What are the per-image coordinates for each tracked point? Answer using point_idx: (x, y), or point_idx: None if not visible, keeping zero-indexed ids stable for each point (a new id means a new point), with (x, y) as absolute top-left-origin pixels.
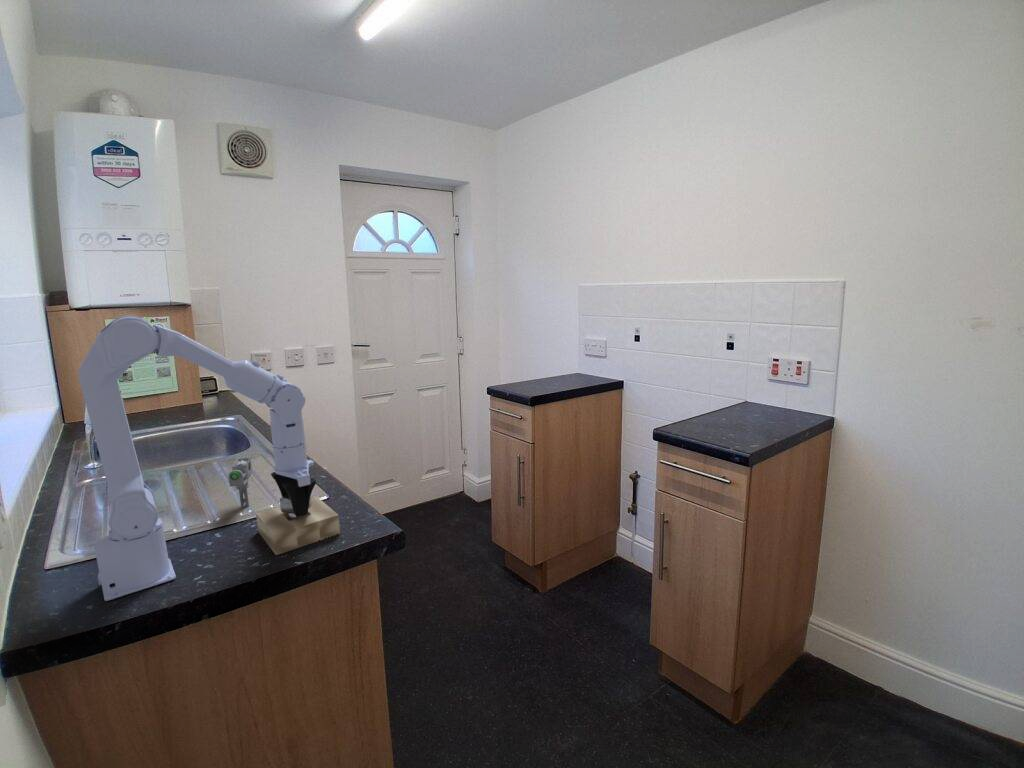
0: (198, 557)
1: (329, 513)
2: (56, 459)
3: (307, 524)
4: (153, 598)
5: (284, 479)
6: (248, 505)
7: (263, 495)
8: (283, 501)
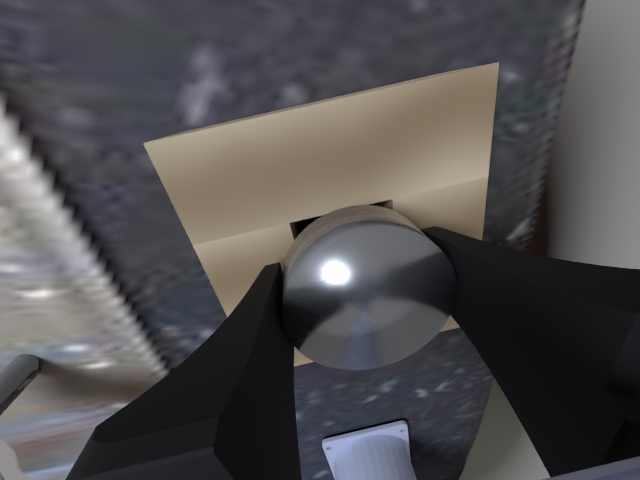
0: (335, 405)
1: (442, 109)
2: None
3: (483, 223)
4: (442, 427)
5: (287, 458)
6: (28, 358)
7: None
8: (387, 355)
